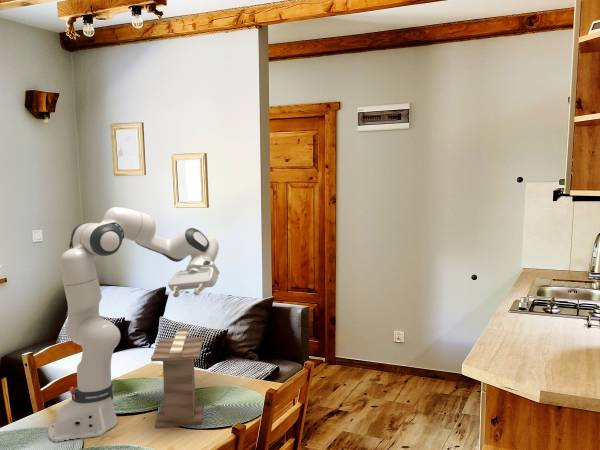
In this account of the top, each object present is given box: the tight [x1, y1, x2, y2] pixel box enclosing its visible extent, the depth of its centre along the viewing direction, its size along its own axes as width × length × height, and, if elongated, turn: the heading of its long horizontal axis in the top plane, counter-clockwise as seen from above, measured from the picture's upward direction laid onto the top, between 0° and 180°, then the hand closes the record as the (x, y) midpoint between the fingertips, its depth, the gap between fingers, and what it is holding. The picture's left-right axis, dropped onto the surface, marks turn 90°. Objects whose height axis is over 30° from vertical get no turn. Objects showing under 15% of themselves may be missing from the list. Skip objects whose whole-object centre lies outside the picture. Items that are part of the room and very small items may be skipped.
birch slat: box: [169, 327, 189, 358], centre depth 190 cm, size 30×4×2 cm, turn 8°
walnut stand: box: [150, 336, 205, 429], centre depth 187 cm, size 22×16×26 cm
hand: (185, 295), depth 195 cm, fingers open, 8 cm apart
